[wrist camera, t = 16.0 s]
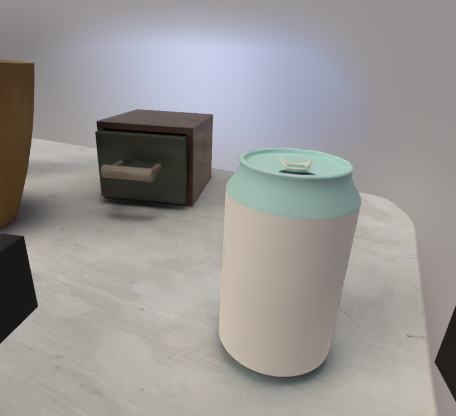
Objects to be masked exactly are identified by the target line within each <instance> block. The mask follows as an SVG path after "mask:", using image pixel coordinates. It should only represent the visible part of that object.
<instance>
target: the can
mask: <svg viewBox="0 0 456 416" xmlns="http://www.w3.org/2000/svg"><path fill="white" fill-rule="evenodd" d="M353 171H354V167H353V165H352V164H351V163H350V162H348V161H347V160H345V159H343V158H340V157H338V156H335V155H331V154H327V153H323V152H318V151H312V150H306V149H296V148H259V149H253V150H249V151H246V152H244V153H243V154H242V155H241V156H240V166H239V168H238V169H237V170H236V172H235V173H234V174H233V175H232V177H231V178H230V179H229V181H228V182H227V185H226V193H225V213H224V234H223V254H222V275H221V295H220V316H219V335H220V339H221V342H222V344H223V346H224V347H225V349H226V350H227V352H228V353H229V354H230V355H231V356H232V357H233V358H234V359H235V360H236V361H238V362H239V363H241V364H242V365H244V366H245V367H247V368H249V369H251V370H254V371H256V372H259V373H262V374H266V375H271V376H279V377H290V376H297V375H302V374H305V373H308V372H310V371H312V370H314V369H316V368H317V367H318V366H320V365H321V364H322V363H323V361H324V360H325V359H326V357H327V355H328V353H329V350H330V345H331V341H332V336H333V331H334V326H335V322H336V317H337V312H338V308H339V303H340V298H341V294H342V289H343V284H344V280H345V275H346V270H347V266H348V261H349V256H350V252H351V247H352V242H353V238H354V233H355V228H356V224H357V219H358V214H359V210H360V205H361V198H360V195H359V193H358V191H357V189H356V186H355V184H354V182H353V180H352V178H351V176H352V173H353Z"/></svg>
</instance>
